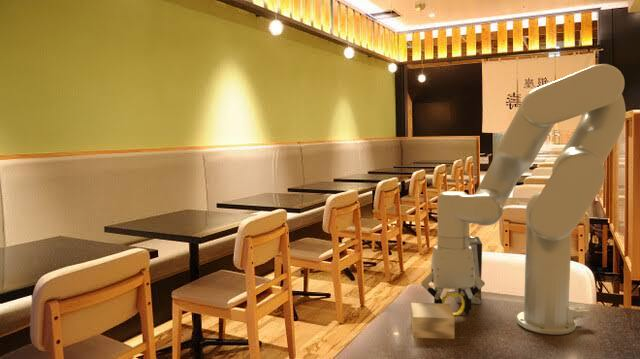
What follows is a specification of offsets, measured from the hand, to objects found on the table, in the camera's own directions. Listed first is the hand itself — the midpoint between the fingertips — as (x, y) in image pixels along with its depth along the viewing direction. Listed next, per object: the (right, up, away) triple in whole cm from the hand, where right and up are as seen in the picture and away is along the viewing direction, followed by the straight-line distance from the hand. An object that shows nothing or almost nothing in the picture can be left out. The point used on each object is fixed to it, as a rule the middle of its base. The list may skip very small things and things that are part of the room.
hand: (452, 312), depth 129 cm
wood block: (-7, -2, -9) cm, 11 cm away
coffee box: (+7, +1, +12) cm, 14 cm away
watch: (0, -1, 0) cm, 1 cm away
